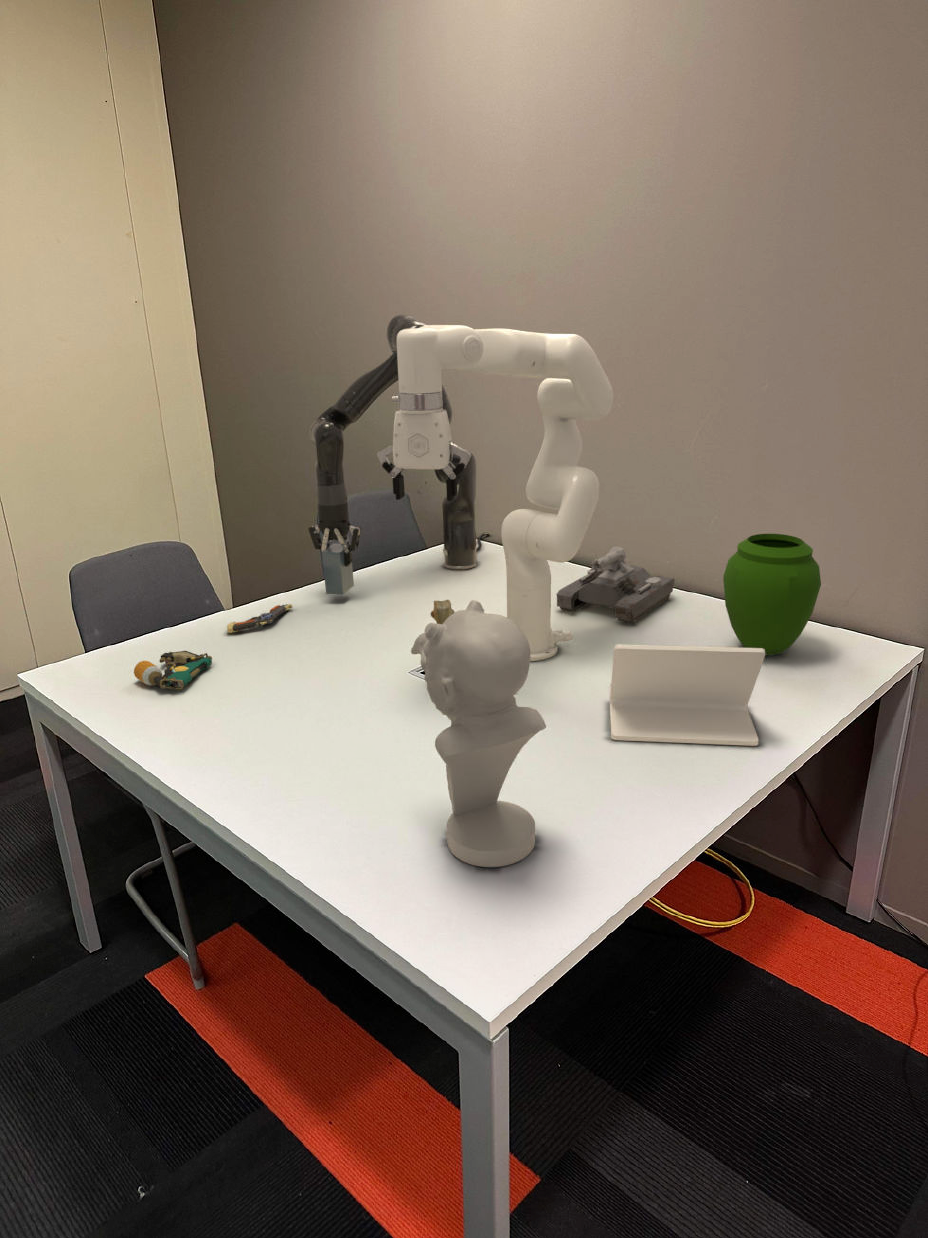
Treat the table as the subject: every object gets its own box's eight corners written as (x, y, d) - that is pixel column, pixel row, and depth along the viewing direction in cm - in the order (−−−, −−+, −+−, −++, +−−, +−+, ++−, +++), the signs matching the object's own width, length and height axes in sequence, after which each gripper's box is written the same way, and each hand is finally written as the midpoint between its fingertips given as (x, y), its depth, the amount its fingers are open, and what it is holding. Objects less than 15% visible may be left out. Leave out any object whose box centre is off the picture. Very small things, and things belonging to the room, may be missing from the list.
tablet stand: (759, 746, 146) (769, 654, 140) (611, 740, 149) (614, 650, 143) (741, 699, 163) (749, 615, 157) (609, 695, 166) (611, 613, 160)
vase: (820, 642, 188) (834, 534, 179) (800, 674, 173) (814, 558, 164) (732, 626, 198) (741, 524, 189) (705, 656, 183) (714, 546, 174)
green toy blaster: (177, 659, 191) (231, 671, 185) (120, 684, 176) (176, 698, 171) (176, 641, 190) (230, 653, 184) (118, 665, 175) (174, 678, 169)
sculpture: (458, 662, 183) (456, 596, 178) (460, 676, 176) (457, 608, 171) (431, 663, 183) (428, 597, 177) (431, 677, 176) (428, 609, 171)
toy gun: (223, 625, 202) (262, 621, 199) (256, 603, 219) (292, 600, 217) (225, 635, 202) (264, 632, 200) (258, 613, 220) (294, 610, 218)
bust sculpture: (481, 772, 140) (476, 569, 128) (565, 848, 120) (569, 617, 108) (392, 800, 134) (378, 588, 121) (465, 886, 114) (457, 642, 101)
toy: (603, 584, 229) (605, 530, 224) (673, 597, 218) (677, 540, 213) (555, 612, 210) (556, 553, 205) (630, 627, 199) (633, 566, 194)
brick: (325, 594, 221) (321, 551, 216) (337, 584, 227) (333, 543, 223) (343, 595, 219) (339, 552, 215) (354, 585, 226) (350, 544, 222)
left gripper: (299, 503, 213) (306, 568, 219) (353, 505, 210) (358, 571, 216) (311, 496, 220) (318, 559, 226) (364, 497, 216) (369, 562, 223)
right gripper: (367, 405, 148) (373, 502, 154) (463, 405, 144) (466, 505, 150) (381, 400, 155) (387, 493, 161) (474, 400, 151) (476, 495, 157)
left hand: (338, 564), depth 221 cm, fingers closed on brick, 4 cm apart
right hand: (425, 498), depth 156 cm, fingers open, 9 cm apart
